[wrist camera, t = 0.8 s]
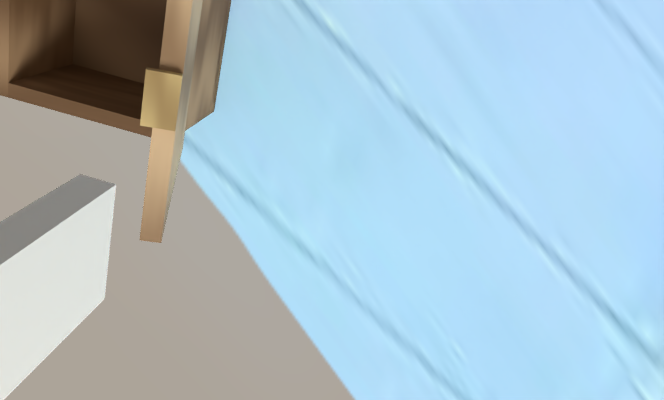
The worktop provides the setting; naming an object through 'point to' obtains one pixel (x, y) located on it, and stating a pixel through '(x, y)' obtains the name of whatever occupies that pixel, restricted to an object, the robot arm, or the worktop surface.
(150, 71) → the lid
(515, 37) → the worktop surface
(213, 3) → the chest
